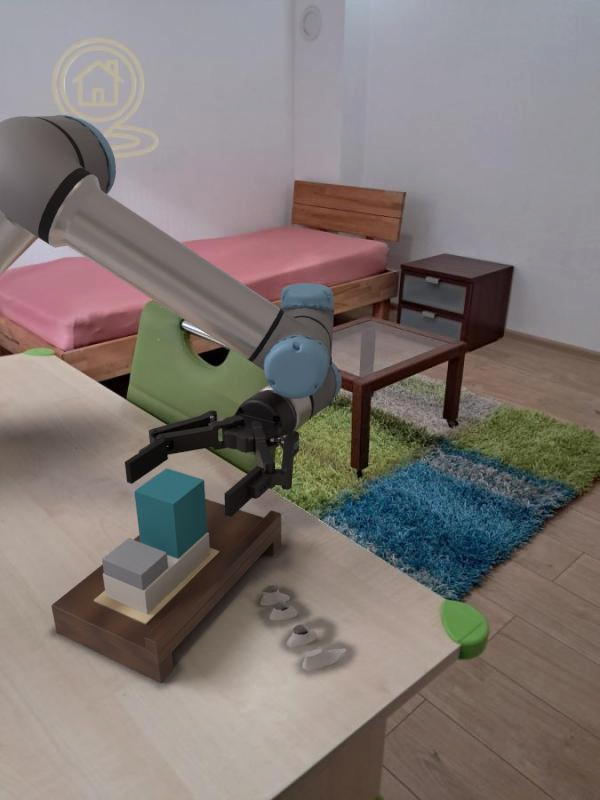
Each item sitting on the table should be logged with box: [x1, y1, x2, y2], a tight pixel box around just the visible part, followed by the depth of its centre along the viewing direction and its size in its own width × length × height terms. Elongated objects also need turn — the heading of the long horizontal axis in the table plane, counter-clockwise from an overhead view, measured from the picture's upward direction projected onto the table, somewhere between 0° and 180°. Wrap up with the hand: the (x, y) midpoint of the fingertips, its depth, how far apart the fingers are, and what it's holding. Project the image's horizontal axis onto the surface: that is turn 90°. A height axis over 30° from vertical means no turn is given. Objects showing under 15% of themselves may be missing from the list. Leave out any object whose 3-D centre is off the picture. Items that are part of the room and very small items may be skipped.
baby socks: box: [260, 584, 347, 672], centre depth 68 cm, size 12×5×3 cm, turn 29°
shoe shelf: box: [50, 498, 282, 684], centre depth 73 cm, size 14×24×6 cm, turn 152°
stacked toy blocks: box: [101, 468, 210, 614], centre depth 68 cm, size 11×6×10 cm, turn 152°
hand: (175, 488), depth 69 cm, fingers open, 13 cm apart
